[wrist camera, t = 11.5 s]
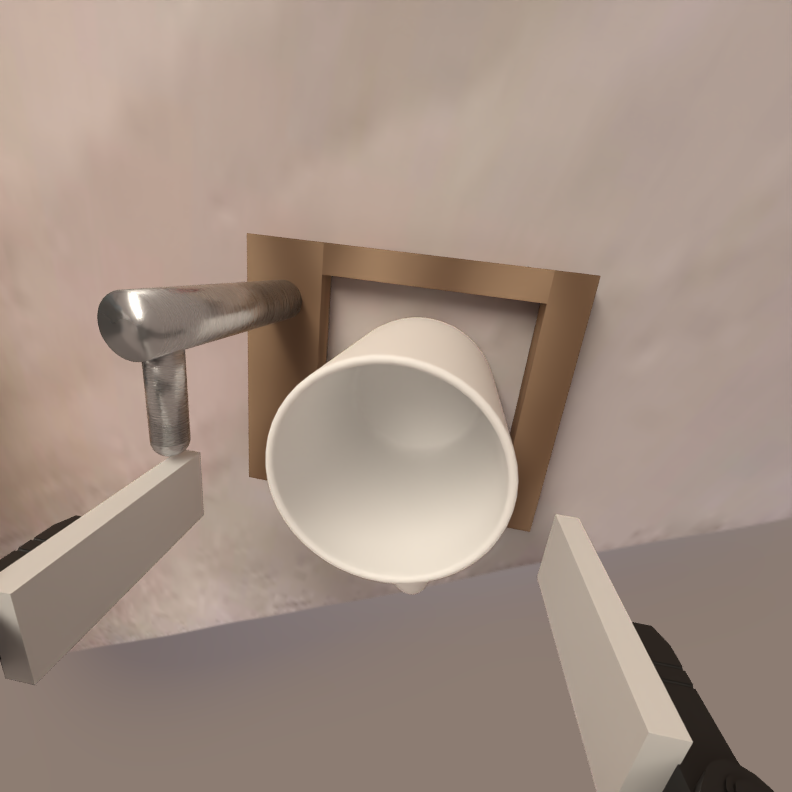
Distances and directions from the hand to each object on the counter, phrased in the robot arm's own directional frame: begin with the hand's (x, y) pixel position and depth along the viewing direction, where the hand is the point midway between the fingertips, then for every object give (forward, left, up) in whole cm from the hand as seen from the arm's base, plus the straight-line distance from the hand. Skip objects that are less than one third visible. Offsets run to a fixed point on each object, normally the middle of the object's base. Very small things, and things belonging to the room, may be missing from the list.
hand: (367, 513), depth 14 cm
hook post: (-7, +4, -8) cm, 11 cm away
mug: (+1, 0, -10) cm, 10 cm away
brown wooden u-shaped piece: (0, +2, -9) cm, 10 cm away
